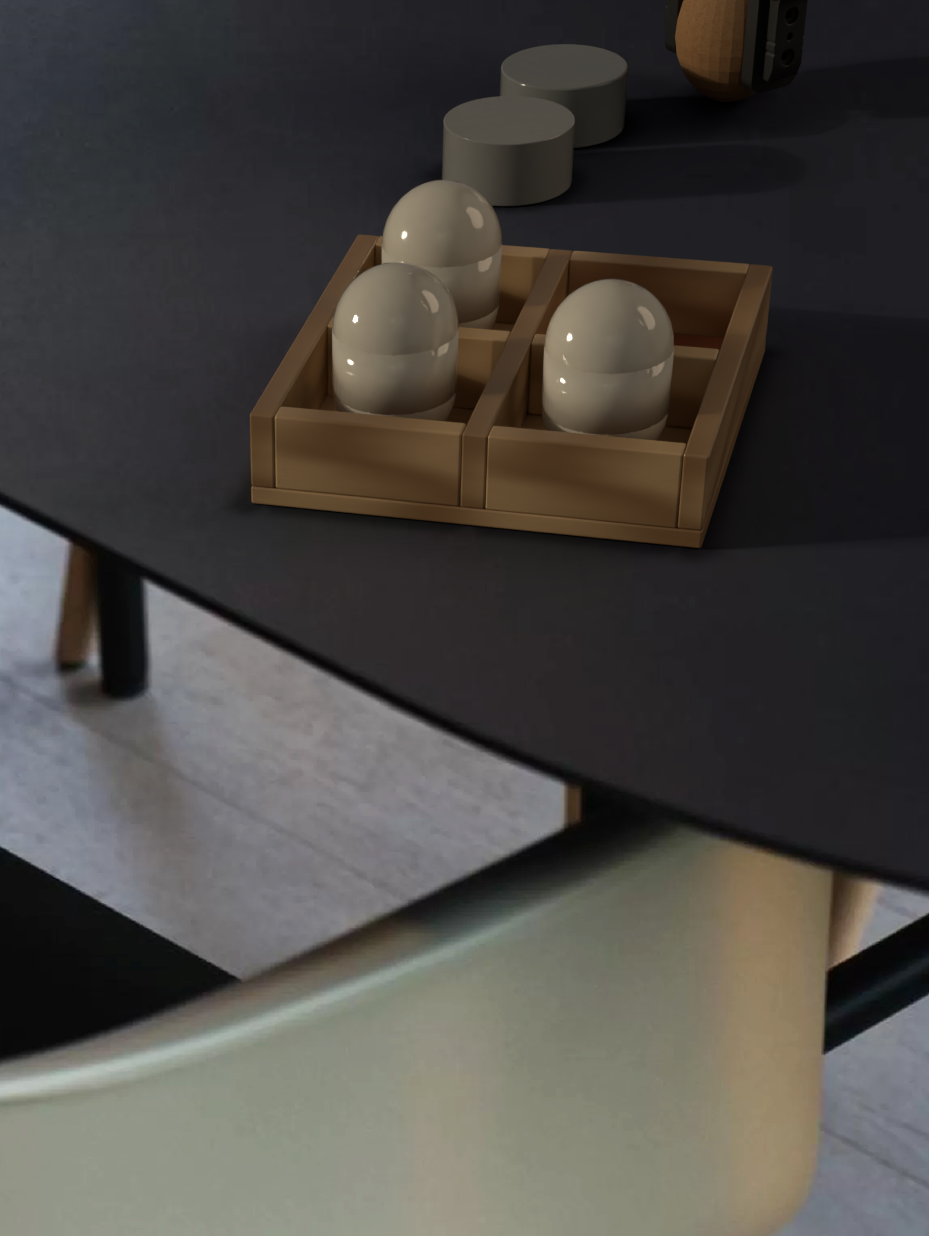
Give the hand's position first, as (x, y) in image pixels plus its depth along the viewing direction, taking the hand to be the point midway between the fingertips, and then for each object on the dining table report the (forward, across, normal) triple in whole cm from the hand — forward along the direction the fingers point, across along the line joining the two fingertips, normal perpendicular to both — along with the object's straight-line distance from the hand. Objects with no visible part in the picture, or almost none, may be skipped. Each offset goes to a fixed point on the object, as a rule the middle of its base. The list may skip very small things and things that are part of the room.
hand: (728, 65), depth 117 cm
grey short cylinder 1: (+1, -2, +12) cm, 12 cm away
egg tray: (+1, -20, +23) cm, 31 cm away
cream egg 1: (+1, -15, +23) cm, 28 cm away
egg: (+2, 0, 0) cm, 2 cm away
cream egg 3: (+1, -25, +23) cm, 34 cm away
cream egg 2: (+1, -20, +28) cm, 34 cm away
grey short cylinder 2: (+1, +1, +7) cm, 7 cm away
